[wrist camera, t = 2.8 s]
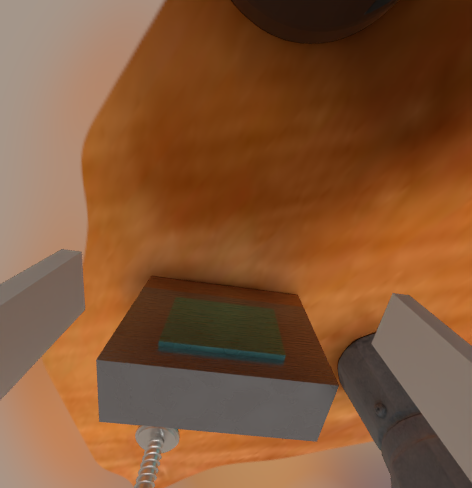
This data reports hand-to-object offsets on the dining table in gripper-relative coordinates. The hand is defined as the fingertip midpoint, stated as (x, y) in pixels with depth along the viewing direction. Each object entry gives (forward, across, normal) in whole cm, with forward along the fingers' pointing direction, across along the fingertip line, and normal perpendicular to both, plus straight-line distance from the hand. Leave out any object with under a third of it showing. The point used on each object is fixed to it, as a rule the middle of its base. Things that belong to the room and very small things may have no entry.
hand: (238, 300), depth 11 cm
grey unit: (+12, 0, -8) cm, 14 cm away
